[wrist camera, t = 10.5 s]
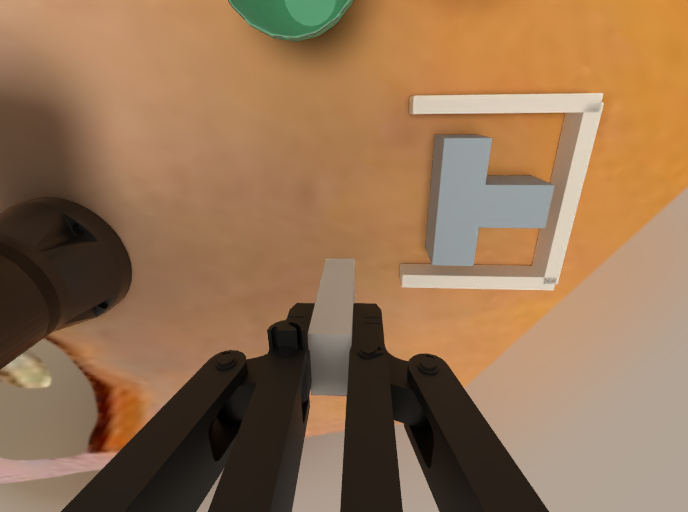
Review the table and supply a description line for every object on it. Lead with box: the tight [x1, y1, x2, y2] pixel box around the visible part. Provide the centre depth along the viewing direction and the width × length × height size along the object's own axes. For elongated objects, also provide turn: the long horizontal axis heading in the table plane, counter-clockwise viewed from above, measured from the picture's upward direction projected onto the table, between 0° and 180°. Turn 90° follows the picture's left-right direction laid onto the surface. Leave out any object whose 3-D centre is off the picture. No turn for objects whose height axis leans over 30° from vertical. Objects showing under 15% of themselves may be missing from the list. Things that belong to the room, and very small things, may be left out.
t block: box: [425, 134, 555, 266], centre depth 34 cm, size 10×12×5 cm
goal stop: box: [400, 93, 604, 290], centre depth 35 cm, size 16×19×3 cm
